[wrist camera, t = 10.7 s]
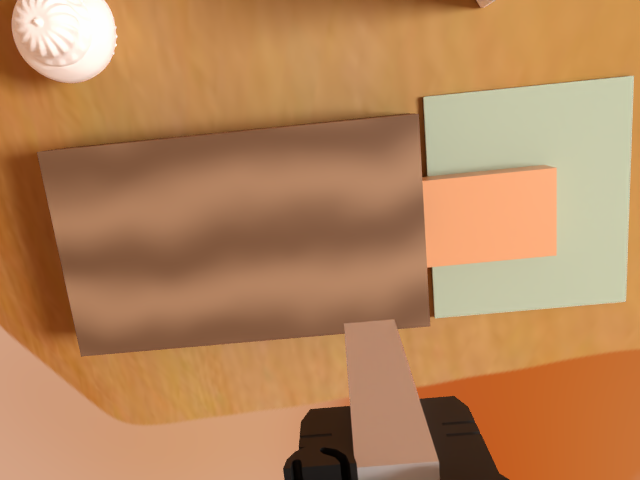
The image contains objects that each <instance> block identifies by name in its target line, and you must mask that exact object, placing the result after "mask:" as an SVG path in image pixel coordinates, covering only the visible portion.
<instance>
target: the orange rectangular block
mask: <svg viewBox="0 0 640 480" xmlns="http://www.w3.org/2000/svg"><path fill="white" fill-rule="evenodd" d="M422 183H423V202H424V220H425V239H426V257H427V268H428V267H439V266H449V265H460V264H471V263H482V262H492V261H503V260H514V259H525V258H535V257H546V256H557V168H555V167H551V166H547V165H538V166H528V167H518V168H508V169H498V170H488V171H478V172H468V173H457V174H447V175H437V176H427V177H422Z"/></svg>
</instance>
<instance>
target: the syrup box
mask: <svg viewBox="0 0 640 480" xmlns="http://www.w3.org/2000/svg"><path fill="white" fill-rule="evenodd" d="M476 1H477V3H478V4H479V6H480V7H481V8H483V7H486V6H488V5H489V4H491V3H492V2H494V1H495V0H476Z"/></svg>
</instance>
